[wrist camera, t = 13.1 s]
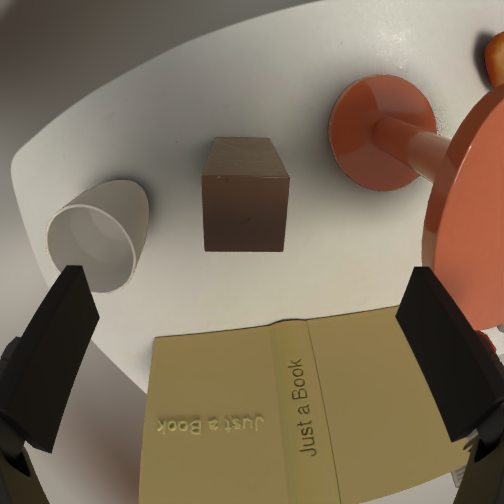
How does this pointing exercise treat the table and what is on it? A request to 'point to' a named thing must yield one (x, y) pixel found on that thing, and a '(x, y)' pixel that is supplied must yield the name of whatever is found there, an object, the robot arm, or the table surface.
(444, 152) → the orange pedestal stand
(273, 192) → the walnut block
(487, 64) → the fruit
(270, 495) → the book
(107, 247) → the cup
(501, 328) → the rod
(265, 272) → the table surface
